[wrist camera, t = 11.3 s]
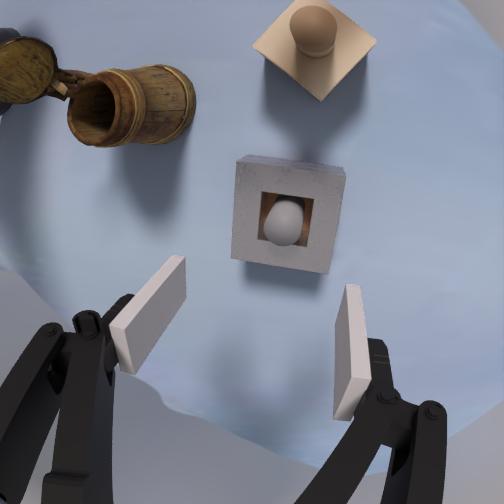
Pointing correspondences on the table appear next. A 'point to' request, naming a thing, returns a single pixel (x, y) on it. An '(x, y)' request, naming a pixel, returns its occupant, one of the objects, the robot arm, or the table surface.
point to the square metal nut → (289, 183)
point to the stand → (315, 45)
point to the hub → (286, 218)
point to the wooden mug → (100, 95)
